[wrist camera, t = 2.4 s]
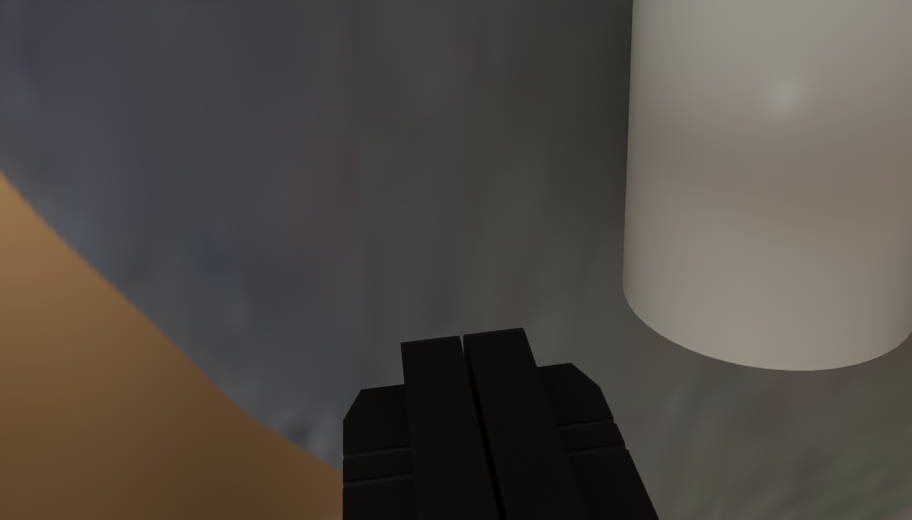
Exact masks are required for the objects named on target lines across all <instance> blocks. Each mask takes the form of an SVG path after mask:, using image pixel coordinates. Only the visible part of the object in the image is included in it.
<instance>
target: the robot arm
mask: <svg viewBox="0 0 912 520" xmlns="http://www.w3.org/2000/svg"><path fill="white" fill-rule="evenodd" d="M463 347H464V354H463V349H462V345H461V340H460V337H459V336H451V337H443V338H435V339H427V340H419V341H411V342H403V343H401V353H402V363H403V373H404V383H405V384H402V385H394V386H386V387H378V388H370V389H362V390H361V391H360V393H359V394H358V396H357V398H356V400H355V401H354V403H353V405H352V406H351V408H350V410H349V411H348V413H347V415H346V416H345V418H344V420H343V456H344V460H343V485H344V488H343V520H659V518H658V516H657V514H656V511H655V509H654V507H653V505H652V502H651V500H650V498H649V496H648V494H647V491H646V489H645V487H644V485H643V482H642V480H641V478H640V476H639V473H638V471H637V469H636V467H635V464H634V462H633V460H632V458H631V456H630V453H629V451H628V450H626V448H625V442H624V440H623V438H622V435H621V433H620V431H619V429H618V427H617V424H616V423H615V424H614V420H613V415H612V413H611V411H610V409H609V406H608V404H607V402H606V400H605V398H604V395H603V393H602V391H601V389H600V387H599V386H598V385H597V384H596V383H595V382H593V381H592V380H591V379H590V378H589V377H587V376H586V375H585V374H584V373H583V372H581V371H580V370H579V369H578V368H577V367H575V366H574V365H573V364H572V363H566V364H558V365H550V366H542V367H537V365H536V363H535V360H534V357H533V354H532V351H531V348H530V345H529V343H528V340H527V337H526V334H525V331H524V330H523V328H515V329H506V330H498V331H490V332H482V333H474V334H466V335H464V336H463Z"/></svg>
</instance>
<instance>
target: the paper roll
mask: <svg viewBox="0 0 912 520" xmlns="http://www.w3.org/2000/svg"><path fill="white" fill-rule="evenodd" d="M622 285H623V291H624V295H625V297H626V300H627V302H628V304H629V305H630V307H631V308H632V310H633V311H634V312H635V314H636V315H637V316H638V317H639V318H640V319H641V320H642V321H643V322H644V323H646V324H647V325H648V326H649V327H651V328H652V329H653V330H654V331H656V332H657V333H659V334H661V335H662V336H664V337H666V338H667V339H669V340H671V341H673V342H675V343H677V344H679V345H681V346H683V347H685V348H687V349H690V350H693V351H695V352H698V353H700V354H703V355H706V356H709V357H713V358H716V359H719V360H723V361H727V362H731V363H736V364H740V365H745V366H752V367H759V368H765V369H777V370H822V369H833V368H839V367H845V366H851V365H855V364H858V363H862V362H866V361H869V360H872V359H874V358H877V357H879V356H881V355H884V354H886V353H887V352H889V351H891V350H892V349H894V348H896V347H897V346H898V345H900V344H901V343H902V342H903V341H904V340H905V339H906V338H907V337H908V336H909V334H910V333H911V331H912V0H633V12H632V40H631V67H630V94H629V121H628V148H627V175H626V203H625V230H624V257H623V284H622Z"/></svg>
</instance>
